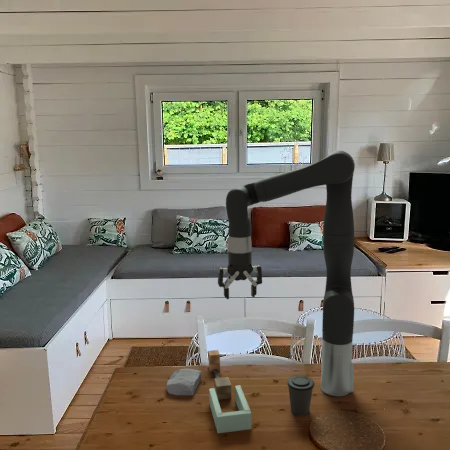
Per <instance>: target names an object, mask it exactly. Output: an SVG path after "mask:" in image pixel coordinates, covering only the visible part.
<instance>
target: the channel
mask: <svg viewBox="0 0 450 450" xmlns="http://www.w3.org/2000/svg"><path fill="white" fill-rule="evenodd" d="M208 393H209V394H208V395H209V396H208V399H209V407H210V411H211V414H212V418H213V421H214V425H215V430H216V432H217V434H224V433H230V432H232V433H233V432H239V431H240V432H241V431H247V430H252V411H251V409H250V406H249V403H248V401H247V399H246V396H245V394H244V391H243V390H242V385H240V384H239V385H235V386H234V401H235V404H236V406H237V409H238V410H236V411H227V412H223V411H222V409H221V406H220V402H219V400H218V398H217V395H216V392H215V387H212V388H208Z"/></svg>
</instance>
